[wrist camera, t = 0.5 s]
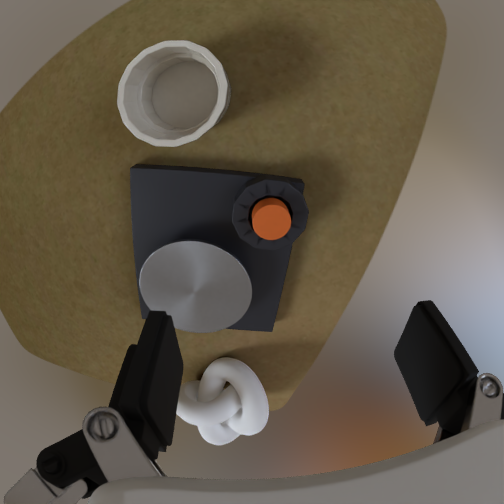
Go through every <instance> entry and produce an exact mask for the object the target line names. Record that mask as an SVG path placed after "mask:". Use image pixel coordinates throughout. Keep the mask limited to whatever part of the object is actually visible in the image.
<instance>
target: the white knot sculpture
mask: <svg viewBox="0 0 504 504" xmlns="http://www.w3.org/2000/svg"><path fill="white" fill-rule="evenodd" d="M226 381H228V382H229V383H230V385H229V386H228V387H227V388H226V389H225V390H224V389H223V388H224V385H225V383H226ZM176 414H177V415H178V416H180V417H181V418H182V419H183V420H184V421H186V422H188V423H190V424H193V425H197V426H198V429H199V432H200V434H201V436H202V437H203V438H204V440H206V441H207V442H209V443H211V444H215V445H223V444H227V443H229V442H231V441H233V440H234V439H236V438H237V437H238V436H239V435H240V434H243V435H253V434H256V433H259V432H260V431H261V430H262V429H263V428H264V426H265V425H266V423H267V420H268V416H269V406H268V400H267V397H266V393H265V390H264V388H263V386H262V384H261V382H260V380H259V379H258V377H257V376H256V374H255V373H254V372H253V371H252V370H251V368H250V367H248V366H247V365H246V364H245V363H243V362H241V361H240V360H238V359H234V358H229V357H222V358H219V359H216V360H215V361H213V362H212V363H211V364H210V365H209V366H208V367H207V369H206V370H205V372H204V374H203V376H202V378H201V381H197V380H195V381H188V382H186V383H184V384H182V385H181V386H180V392H179V398H178V405H177V411H176ZM221 422H222V423H221Z"/></svg>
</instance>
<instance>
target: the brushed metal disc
mask: <svg viewBox="0 0 504 504" xmlns="http://www.w3.org/2000/svg"><path fill="white" fill-rule="evenodd" d="M139 281H140V290H141V294H142V297H143V299H144V301H145V303H146V304H147V306H148V307H149V309H150V310H153V311H166V313H167V315H171V316H172V320H173V324H174V327H175V328H178V329H180V330H184V331H188V332H195V333H209V332H215V331H219V330H222V329H225V328H227V327H229V326H231V325H233V324H234V323H236V322H237V321H238V320H239V319H241V318H242V316H243V315H244V314H245V313H246V311H247V309H248V307H249V305H250V302H251V298H252V283H251V280H250V276H249V274H248V272H247V270H246V268H245V267H244V265H243V264H242V263H241V261H240V260H239V259H238V258H237V257H236V256H235V255H234V254H232V253H231V252H229V251H228V250H227V249H225V248H223V247H221V246H219V245H217V244H214V243H212V242H208V241H204V240H198V239H181V240H176V241H172V242H169V243H166V244H164V245H162V246H160V247H159V248H157V249H156V250H155V251H153V252H152V253H151V254H150V255H149V257H148V258H147V259H146V261H145V263H144V265H143V267H142V269H141V273H140V280H139Z"/></svg>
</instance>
